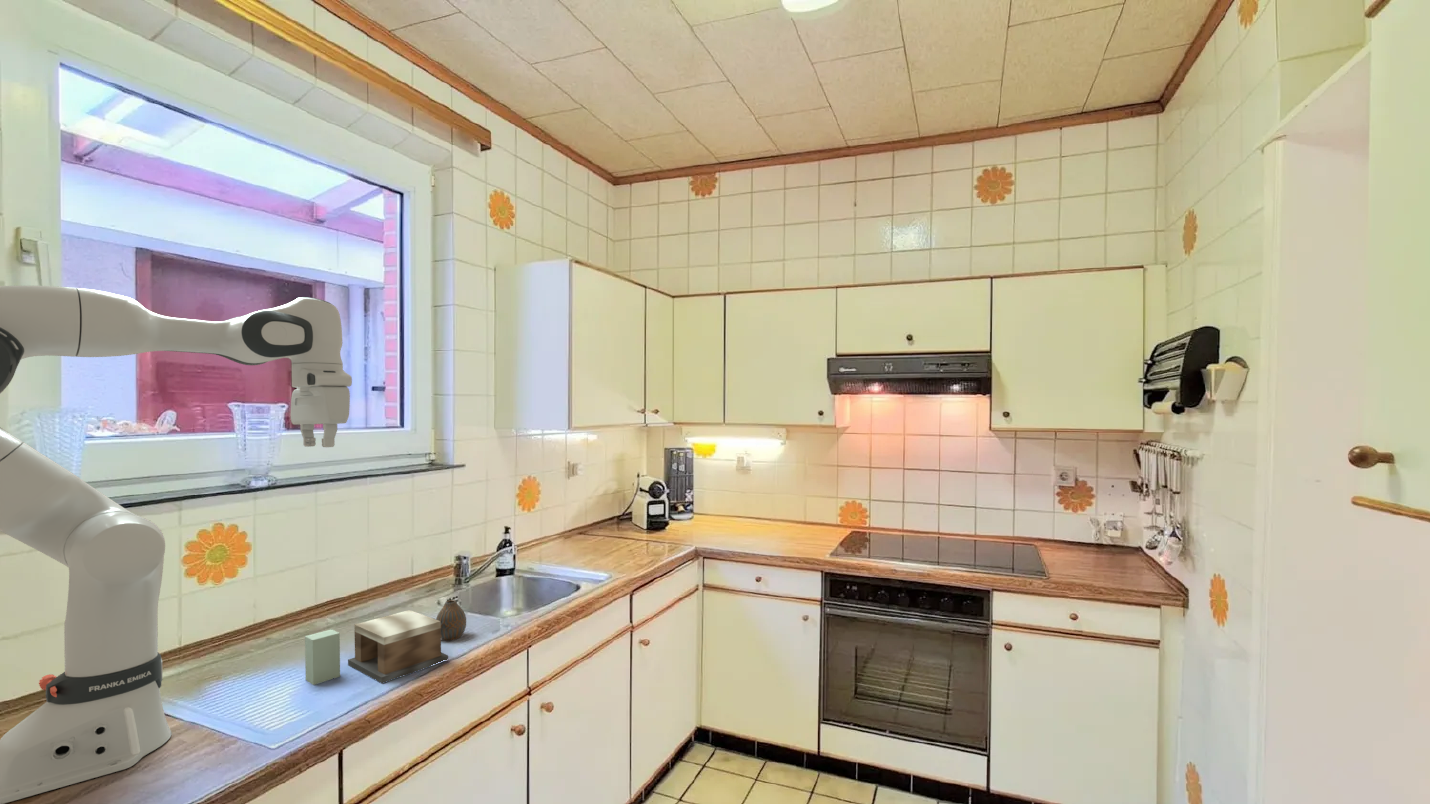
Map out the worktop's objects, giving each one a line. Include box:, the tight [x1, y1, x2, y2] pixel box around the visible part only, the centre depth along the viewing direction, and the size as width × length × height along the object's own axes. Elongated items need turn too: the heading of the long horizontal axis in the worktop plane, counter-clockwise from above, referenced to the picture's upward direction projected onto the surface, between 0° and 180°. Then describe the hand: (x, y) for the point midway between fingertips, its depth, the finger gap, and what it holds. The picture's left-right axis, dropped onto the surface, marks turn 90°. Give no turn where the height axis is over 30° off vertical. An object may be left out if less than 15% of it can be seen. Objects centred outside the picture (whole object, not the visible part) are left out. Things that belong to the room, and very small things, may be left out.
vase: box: [435, 599, 467, 642], centre depth 152 cm, size 7×7×9 cm
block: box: [304, 628, 341, 686], centre depth 130 cm, size 5×4×9 cm
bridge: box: [347, 609, 449, 684], centre depth 137 cm, size 14×16×9 cm
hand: (318, 446), depth 128 cm, fingers open, 8 cm apart
